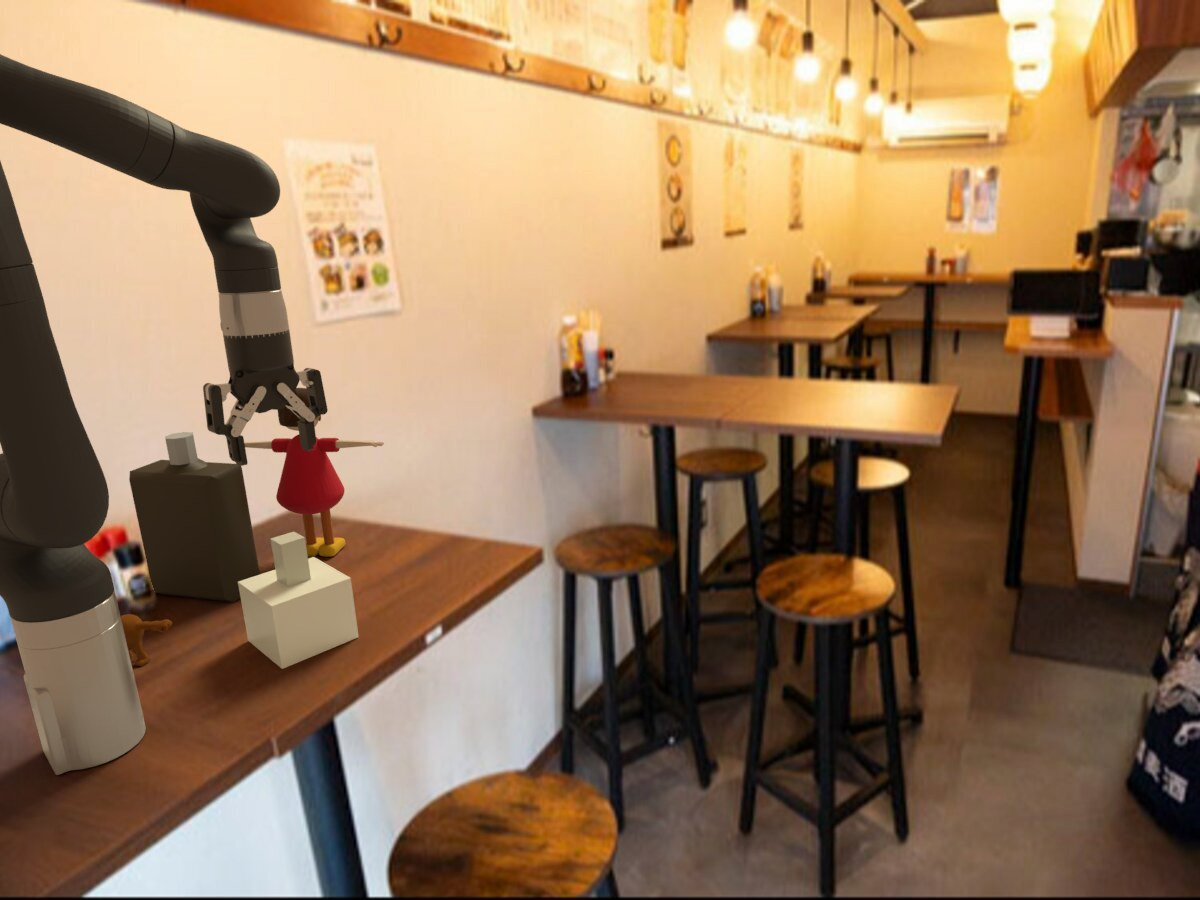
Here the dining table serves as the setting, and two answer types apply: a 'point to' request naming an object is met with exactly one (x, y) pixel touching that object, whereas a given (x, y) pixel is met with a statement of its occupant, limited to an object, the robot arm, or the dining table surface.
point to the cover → (297, 605)
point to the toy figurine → (140, 635)
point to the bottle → (194, 523)
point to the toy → (310, 479)
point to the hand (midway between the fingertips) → (275, 456)
